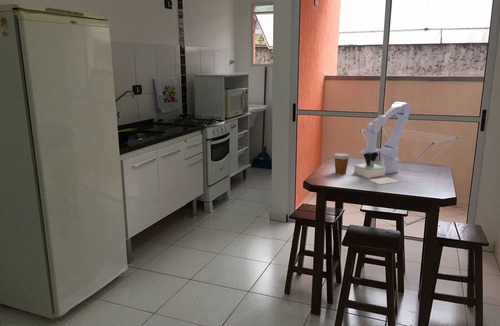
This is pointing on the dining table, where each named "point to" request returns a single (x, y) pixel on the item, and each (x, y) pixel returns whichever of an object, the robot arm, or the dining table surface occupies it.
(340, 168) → the disposable coffee cup
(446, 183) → the dining table surface
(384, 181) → the mat
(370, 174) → the tub
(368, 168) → the lid
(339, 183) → the dining table surface
